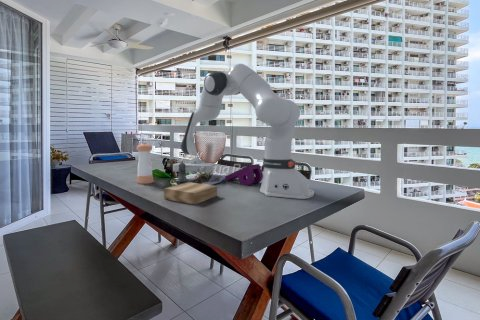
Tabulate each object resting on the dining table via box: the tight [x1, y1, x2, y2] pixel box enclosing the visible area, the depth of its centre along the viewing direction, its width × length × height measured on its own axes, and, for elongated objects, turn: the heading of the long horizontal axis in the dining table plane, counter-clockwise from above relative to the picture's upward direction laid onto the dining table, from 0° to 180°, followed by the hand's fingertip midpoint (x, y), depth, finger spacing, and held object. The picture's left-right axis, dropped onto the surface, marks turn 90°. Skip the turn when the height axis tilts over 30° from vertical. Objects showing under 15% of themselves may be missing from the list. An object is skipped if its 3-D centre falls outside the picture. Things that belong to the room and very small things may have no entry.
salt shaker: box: [136, 142, 154, 185], centre depth 130 cm, size 7×7×19 cm
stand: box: [163, 181, 218, 205], centre depth 103 cm, size 14×14×4 cm
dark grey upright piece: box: [175, 161, 190, 185], centre depth 119 cm, size 6×6×12 cm
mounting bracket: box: [224, 163, 263, 187], centre depth 134 cm, size 9×8×18 cm
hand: (189, 169), depth 130 cm, fingers open, 8 cm apart
